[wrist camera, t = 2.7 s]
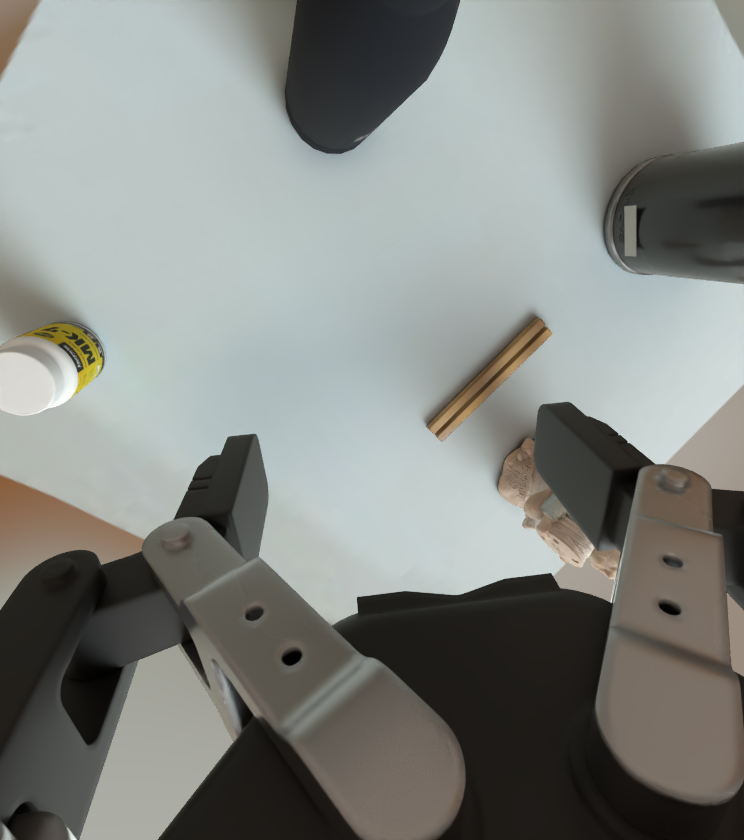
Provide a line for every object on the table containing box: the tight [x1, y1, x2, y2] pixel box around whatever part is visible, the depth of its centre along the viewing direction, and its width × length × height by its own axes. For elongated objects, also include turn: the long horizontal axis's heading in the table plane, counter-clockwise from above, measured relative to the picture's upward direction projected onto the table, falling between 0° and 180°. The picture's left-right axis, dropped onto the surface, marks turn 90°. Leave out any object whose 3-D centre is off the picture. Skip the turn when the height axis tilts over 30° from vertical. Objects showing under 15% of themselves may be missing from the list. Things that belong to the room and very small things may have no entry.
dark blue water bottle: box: [285, 0, 460, 154], centre depth 19 cm, size 6×6×30 cm
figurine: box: [498, 438, 621, 579], centre depth 39 cm, size 9×8×20 cm
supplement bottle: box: [0, 322, 106, 415], centre depth 31 cm, size 5×5×8 cm
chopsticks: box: [427, 318, 552, 441], centre depth 42 cm, size 14×2×1 cm, turn 134°
